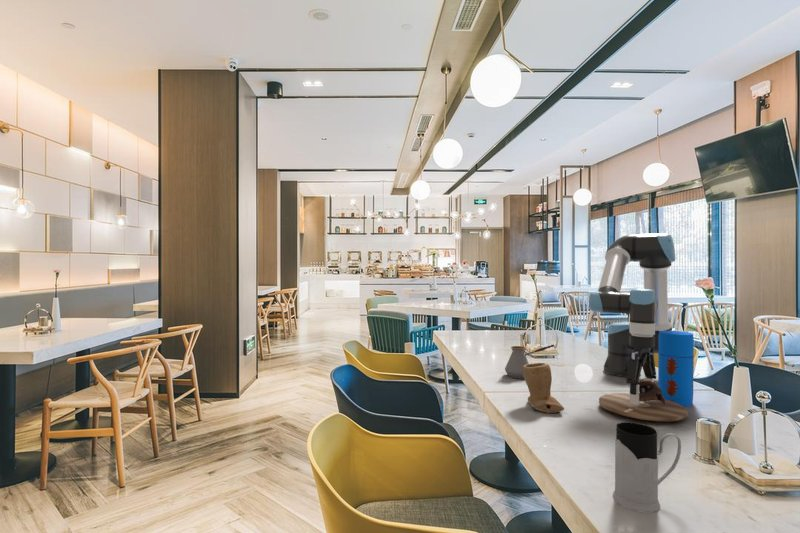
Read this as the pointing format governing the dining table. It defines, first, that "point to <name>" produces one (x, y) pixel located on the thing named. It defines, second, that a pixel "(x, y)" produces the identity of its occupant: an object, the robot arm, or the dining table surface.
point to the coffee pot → (519, 361)
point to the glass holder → (639, 466)
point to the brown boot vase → (540, 387)
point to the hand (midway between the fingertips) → (641, 400)
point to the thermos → (676, 366)
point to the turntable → (643, 408)
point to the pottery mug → (649, 391)
